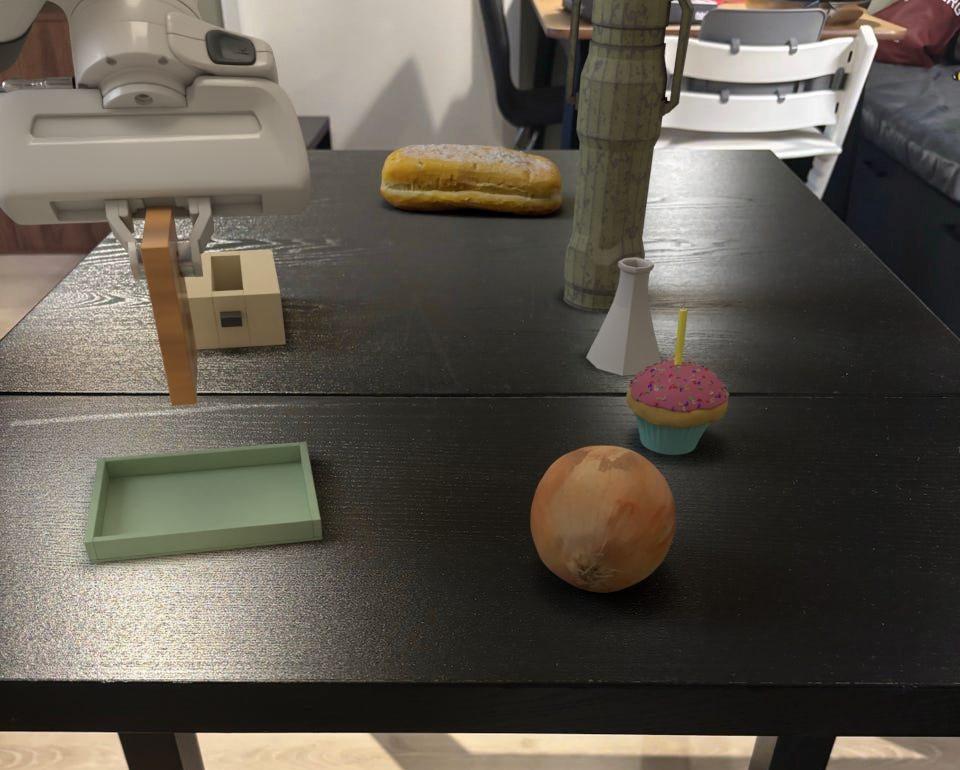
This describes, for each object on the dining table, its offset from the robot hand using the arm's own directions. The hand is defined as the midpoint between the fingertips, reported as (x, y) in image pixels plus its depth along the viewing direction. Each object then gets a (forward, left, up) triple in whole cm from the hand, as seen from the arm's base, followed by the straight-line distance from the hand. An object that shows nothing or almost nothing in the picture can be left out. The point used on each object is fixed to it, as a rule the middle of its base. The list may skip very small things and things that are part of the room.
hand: (168, 274), depth 62 cm
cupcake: (+21, +33, -17) cm, 43 cm away
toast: (+1, -1, -7) cm, 7 cm away
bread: (-41, +77, -17) cm, 89 cm away
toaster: (-27, +23, -17) cm, 40 cm away
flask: (+8, +45, -17) cm, 49 cm away
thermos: (-4, +58, -17) cm, 61 cm away
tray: (+1, -1, -17) cm, 17 cm away
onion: (+28, +12, -17) cm, 35 cm away
